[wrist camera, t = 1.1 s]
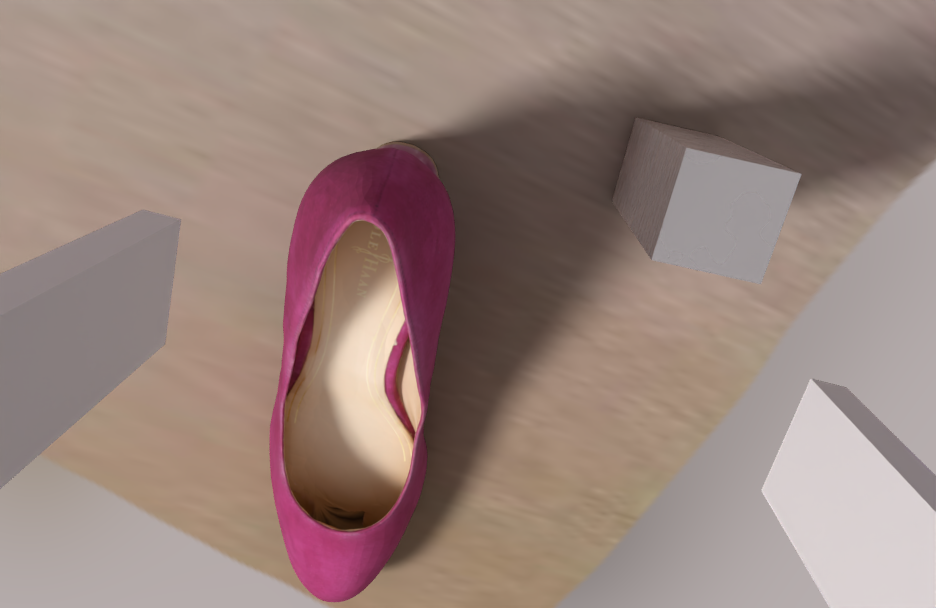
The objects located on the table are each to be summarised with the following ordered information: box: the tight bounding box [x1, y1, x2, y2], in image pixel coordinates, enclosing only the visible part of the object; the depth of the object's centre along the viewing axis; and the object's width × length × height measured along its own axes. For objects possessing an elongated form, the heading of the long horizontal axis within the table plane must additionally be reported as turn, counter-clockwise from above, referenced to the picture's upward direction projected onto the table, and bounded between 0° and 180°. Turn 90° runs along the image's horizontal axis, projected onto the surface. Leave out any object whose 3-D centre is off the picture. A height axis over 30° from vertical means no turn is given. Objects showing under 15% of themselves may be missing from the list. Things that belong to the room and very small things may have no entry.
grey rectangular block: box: [612, 117, 801, 284], centre depth 31 cm, size 4×4×10 cm
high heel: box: [270, 142, 455, 602], centre depth 34 cm, size 26×9×12 cm, turn 163°
